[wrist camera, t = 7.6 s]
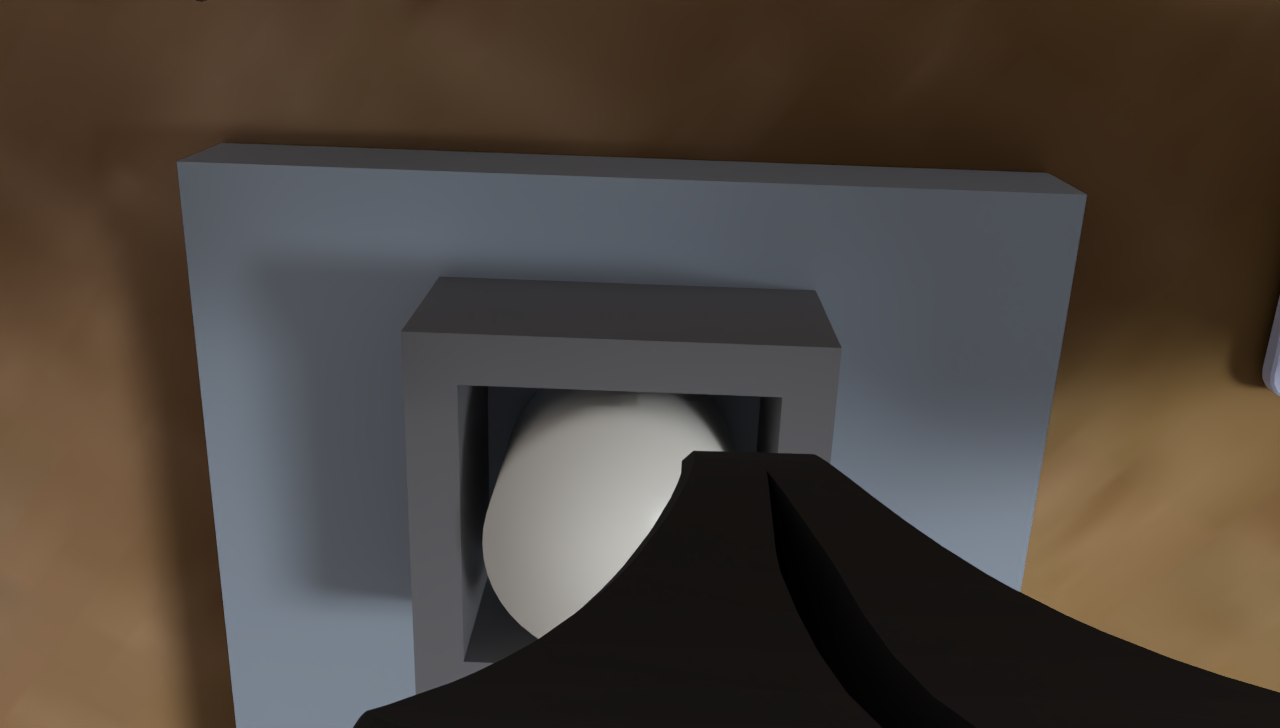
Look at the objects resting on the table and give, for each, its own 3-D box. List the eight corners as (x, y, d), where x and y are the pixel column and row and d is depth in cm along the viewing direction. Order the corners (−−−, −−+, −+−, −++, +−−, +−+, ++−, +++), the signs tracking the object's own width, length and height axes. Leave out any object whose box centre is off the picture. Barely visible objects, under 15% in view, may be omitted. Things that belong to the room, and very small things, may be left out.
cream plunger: (741, 362, 19) (755, 432, 16) (727, 569, 21) (738, 666, 18) (507, 354, 19) (480, 421, 16) (508, 560, 21) (484, 656, 18)
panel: (1048, 172, 20) (1162, 237, 16) (919, 1002, 27) (972, 1220, 23) (221, 142, 21) (90, 197, 16) (297, 976, 27) (221, 1188, 23)
